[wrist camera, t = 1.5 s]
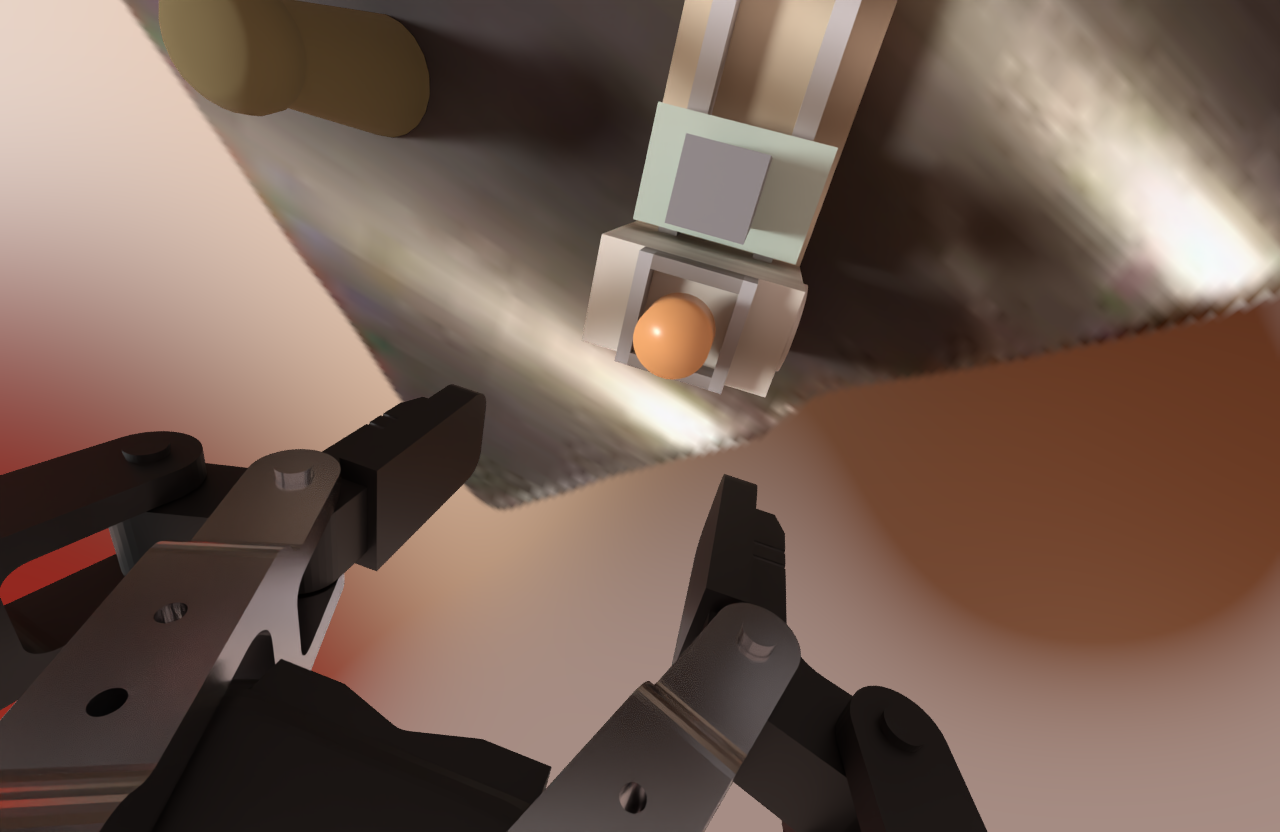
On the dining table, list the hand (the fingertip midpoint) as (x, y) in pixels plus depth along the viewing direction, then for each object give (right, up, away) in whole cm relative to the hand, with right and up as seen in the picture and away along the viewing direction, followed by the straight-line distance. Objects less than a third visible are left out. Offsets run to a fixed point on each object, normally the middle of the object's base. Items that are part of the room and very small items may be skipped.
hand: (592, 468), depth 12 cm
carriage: (+5, +12, +14) cm, 19 cm away
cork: (-14, +20, +19) cm, 31 cm away
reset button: (+3, +5, +10) cm, 12 cm away
